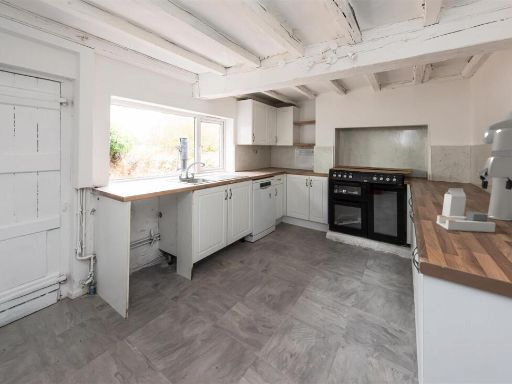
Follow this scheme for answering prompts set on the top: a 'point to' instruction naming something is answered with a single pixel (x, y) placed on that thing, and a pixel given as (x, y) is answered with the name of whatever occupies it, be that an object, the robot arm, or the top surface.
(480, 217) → the block
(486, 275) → the top surface
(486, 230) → the chute
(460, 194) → the milk carton
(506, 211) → the robot arm
